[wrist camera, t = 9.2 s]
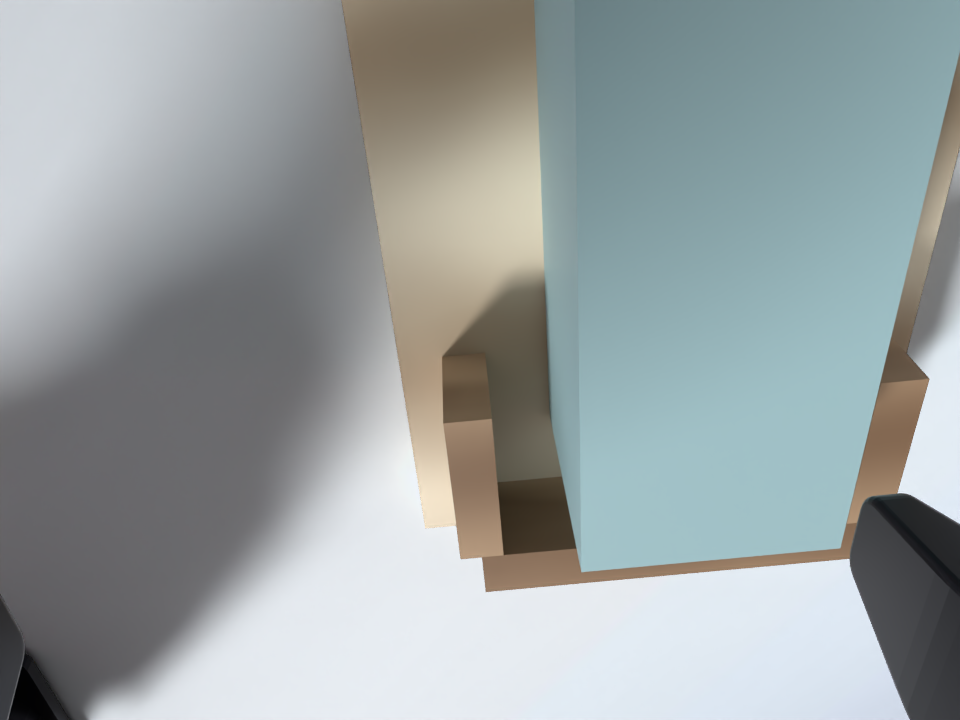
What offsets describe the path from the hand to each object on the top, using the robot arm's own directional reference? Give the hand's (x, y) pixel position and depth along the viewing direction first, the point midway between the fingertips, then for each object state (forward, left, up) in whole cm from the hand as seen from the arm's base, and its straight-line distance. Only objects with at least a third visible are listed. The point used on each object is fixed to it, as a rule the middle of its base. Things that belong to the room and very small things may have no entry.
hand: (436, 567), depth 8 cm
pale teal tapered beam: (+2, -5, -10) cm, 11 cm away
